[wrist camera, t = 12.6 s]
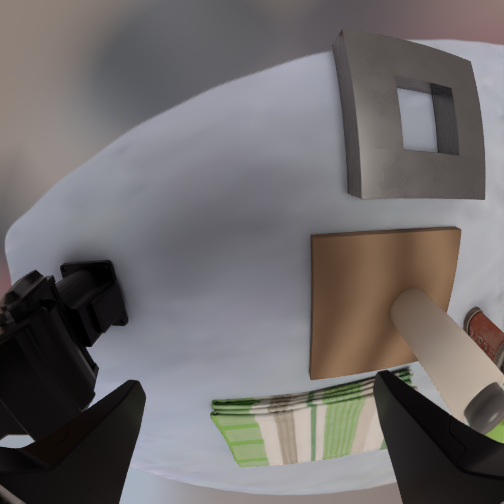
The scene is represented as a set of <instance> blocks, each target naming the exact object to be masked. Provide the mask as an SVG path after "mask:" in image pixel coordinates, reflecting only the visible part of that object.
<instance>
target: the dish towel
mask: <svg viewBox="0 0 504 504" xmlns="http://www.w3.org/2000/svg"><path fill="white" fill-rule="evenodd" d="M394 375H395V376H397V377H398V378H400V379H401V380H402V381H404V382H405V383H407V384H408V385H409V386H411V387H412V385H413V383H412V381H411V378H412V376H413V373H412V370H407V371H403V372H400V373H395V374H394ZM374 381H375V379H370V380H367V381H362V382H357V383H352V384H348V385H343V386H338V387H333V388H329V389H324V390H319V391H313V392H305V393H298V394H287V395H277V396H268V397H257V398H243V399H226V400H214V401H213V402H212V407H213V409H214V410H215V411H214V412H211V413H210V416H211V419H212V421H213V422H214V423H215V425H216V426H217V428H218V429H219V430H220V432H221V433H222V435H223V436H224V438H225V440H226V442H227V444H228V445H229V447H230V449H231V451H232V454H233V456H234V459H235V461H236V462H237V463H238V464H239V466H241V467H250V466H272V465H286V464H294V463H300V462H309V461H316V460H325V459H331V458H337V457H342V456H345V455H350V454H354V453H360V452H366V451H371V450H381V449H387V446H386V442H385V439H384V436H383V433H382V430H381V427H380V423H379V418H378V413H377V408H376V403H375V399H374V394H373V385H374ZM412 388H414V389H415V390H416V391H418V389H417V387H416V386H414V387H412Z"/></svg>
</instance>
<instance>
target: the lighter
mask: <svg viewBox="0 0 504 504" xmlns="http://www.w3.org/2000/svg"><path fill="white" fill-rule="evenodd" d="M463 330H464V331H465V332H466V333H467V334H468V336H469V337H470V338H471V339H472V340H473V341H474V342H475V343H476V344H477V345H478V346H479V347H480V348H481V349H482V351H483V352H484V353H485V354H486V355H487V356H488V357H489V358H490V359H491V361H492V362H493V363H494V364H495V365H496V366H497V368H498V369H499V370H500V371H501V372H502V373H503V375H504V333H503V332H502V331H501V330H500V329H499V328H498V327H497V326H496V325H495V324H494V323H493V322H491V321H490V320H489V319H488V318H487V317H486V316H485V315H484V313H483V311H482V310H481V309H480V308H478V307H474V308H472V309H471V310H470V311H469V312H468V313H467V315H466V316H465V318H464V327H463ZM503 385H504V383H503Z"/></svg>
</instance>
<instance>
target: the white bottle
mask: <svg viewBox="0 0 504 504" xmlns="http://www.w3.org/2000/svg"><path fill="white" fill-rule="evenodd" d="M390 319H391V321H392V323H393V324H394V326H395V327H396V329H397V330H398V331H399V333H400V334H401V336H402V337H403V339H404V340H405V341H406V343H407V344H408V346H409V347H410V349H411V350H412V352H413V353H414V355H415V356H416V358H417V359H418V361H419V362H420V364H421V365H422V367H423V368H424V370H425V371H426V373H427V374H428V376H429V377H430V379H431V380H432V382H433V384H434V385H435V387H436V388H437V390H438V392H439V393H440V395H441V397H442V398H443V400H444V401H445V403H446V405H447V407H448V408H449V410H450V412H451V413H452V415H453V417H455V418H456V419H458V420H459V421H461V422H465V421H468V423H469V425H470V426H471V428H472V429H474V430H476V431H478V432H480V433H482V434H484V435H485V434H487V433H488V432H490V431H491V430H492V429H494V428H495V427H496V426H497V425H498V424H499V423H500V422H501V421H502V420H503V419H504V391H503V389H502V386H503V383H504V375H503V373H502V372H501V371H500V370H499V369H498V368H497V366H496V365H495V364H494V363H493V362H492V361H491V359H490V358H489V357H488V356H487V355H486V354H485V353H484V352H483V351H482V349H481V348H480V347H479V346H478V345H477V344H476V343H475V342H474V341H473V340H472V339H471V338H470V337H469V336H468V334H467V333H466V332H465V331H464V330H463V329H462V328H461V327H460V326H459V325H458V324H457V323H456V322H455V321H454V320H453V319H452V318H451V317H450V316H449V315H448V314H447V313H446V312H445V311H444V310H443V309H442V308H441V307H439V306H438V305H437V304H436V303H435V302H434V301H433V300H432V299H431V298H430V297H429V296H428V295H427V294H426V293H425V292H424V291H422V290H421V289H418V288H411V289H408V290H406V291H404V292H403V293H401V294H400V295H399V296H398V297H397V298H396V300H395V301H394V303H393V305H392V307H391V310H390Z"/></svg>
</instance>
